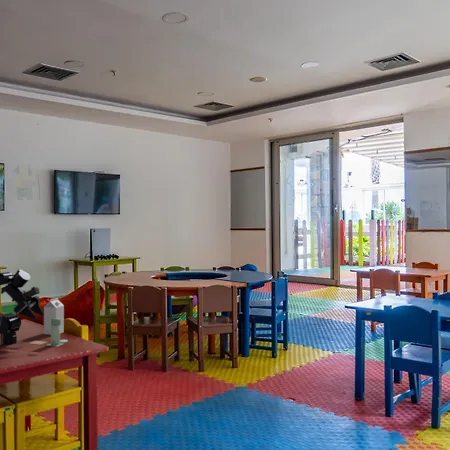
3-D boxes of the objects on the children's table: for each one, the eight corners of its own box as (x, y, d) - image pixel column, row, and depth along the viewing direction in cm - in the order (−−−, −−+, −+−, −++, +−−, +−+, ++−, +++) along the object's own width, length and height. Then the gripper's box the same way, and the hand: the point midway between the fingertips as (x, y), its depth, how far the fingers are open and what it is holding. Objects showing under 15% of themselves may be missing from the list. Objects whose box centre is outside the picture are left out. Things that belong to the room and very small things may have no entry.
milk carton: (43, 336, 250) (43, 299, 250) (51, 333, 257) (51, 297, 257) (56, 337, 248) (56, 299, 248) (63, 334, 255) (64, 297, 255)
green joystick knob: (48, 344, 228) (48, 319, 228) (54, 342, 232) (55, 317, 232) (56, 345, 226) (56, 320, 226) (62, 343, 230) (62, 318, 230)
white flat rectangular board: (25, 346, 230) (25, 343, 230) (45, 339, 243) (45, 337, 243) (56, 349, 224) (56, 347, 224) (75, 342, 237) (75, 340, 237)
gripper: (20, 284, 221) (44, 308, 221) (36, 279, 240) (58, 301, 240) (3, 301, 221) (27, 325, 221) (19, 295, 240) (42, 317, 240)
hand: (39, 317), depth 231 cm, fingers open, 9 cm apart
